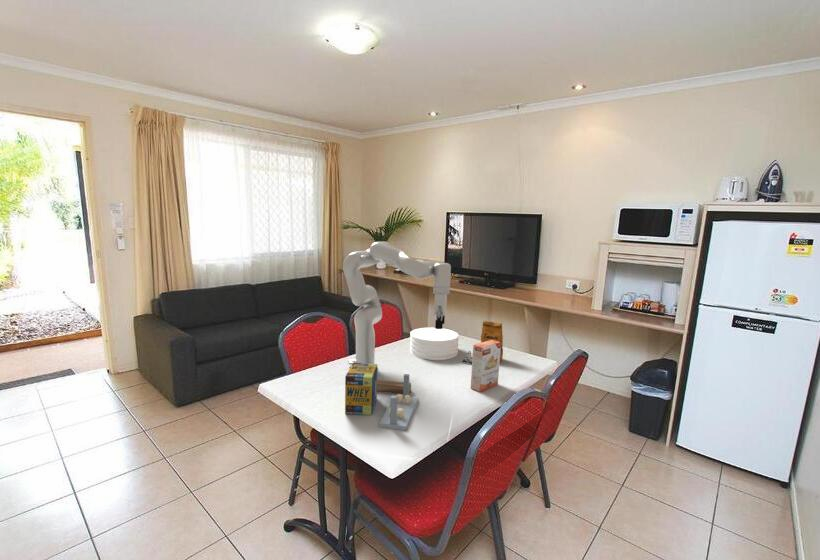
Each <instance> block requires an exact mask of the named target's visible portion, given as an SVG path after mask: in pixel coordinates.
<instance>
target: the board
mask: <svg viewBox="0 0 820 560" xmlns="http://www.w3.org/2000/svg"><path fill="white" fill-rule="evenodd" d="M403 386H404V381H395V380H383V379H377V393H385V394H395V395H398V394H402V395H403ZM411 391H412V382H409V395H410V394H411Z"/></svg>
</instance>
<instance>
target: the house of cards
mask: <svg viewBox="0 0 820 560" xmlns="http://www.w3.org/2000/svg"><path fill="white" fill-rule="evenodd" d="M472 359H473V356H472V352H471V350H469V351H468V352H467V355H466V356H465V357H464V358H463V359H462V361H461V363H462V364H464V365H465V364H466V365H469V366H472Z"/></svg>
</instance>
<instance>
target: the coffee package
mask: <svg viewBox="0 0 820 560" xmlns="http://www.w3.org/2000/svg"><path fill="white" fill-rule="evenodd" d="M503 339H504V336H503V323H502V322H494V321H487V320H482V327H481V334H480V343H482V342H485V341H489V340H494V341H498V342H501V350H500V362H503V357H504V347H503V344H504V343H503V342H504V341H503Z"/></svg>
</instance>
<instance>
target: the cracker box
mask: <svg viewBox="0 0 820 560" xmlns="http://www.w3.org/2000/svg"><path fill="white" fill-rule="evenodd" d="M472 346H473V347H472V357H473V359H472V365H471V375H470V376H471V377H470V389H472V390H474V391H477V392H479V393H481V392H483V391H486V390H488V389H491V388H492V387H495V386H498V384H499V372H500V371H499V370H500V362H501V361H500V350H501V342H498V341H494V340H489V341H485V342H482V343H481V342H478V343H476V344H473V345H472Z"/></svg>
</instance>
